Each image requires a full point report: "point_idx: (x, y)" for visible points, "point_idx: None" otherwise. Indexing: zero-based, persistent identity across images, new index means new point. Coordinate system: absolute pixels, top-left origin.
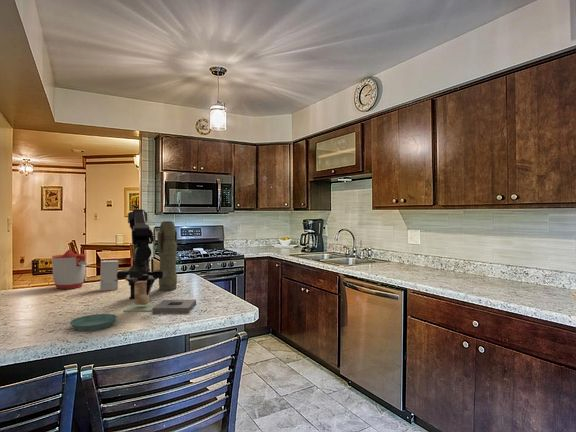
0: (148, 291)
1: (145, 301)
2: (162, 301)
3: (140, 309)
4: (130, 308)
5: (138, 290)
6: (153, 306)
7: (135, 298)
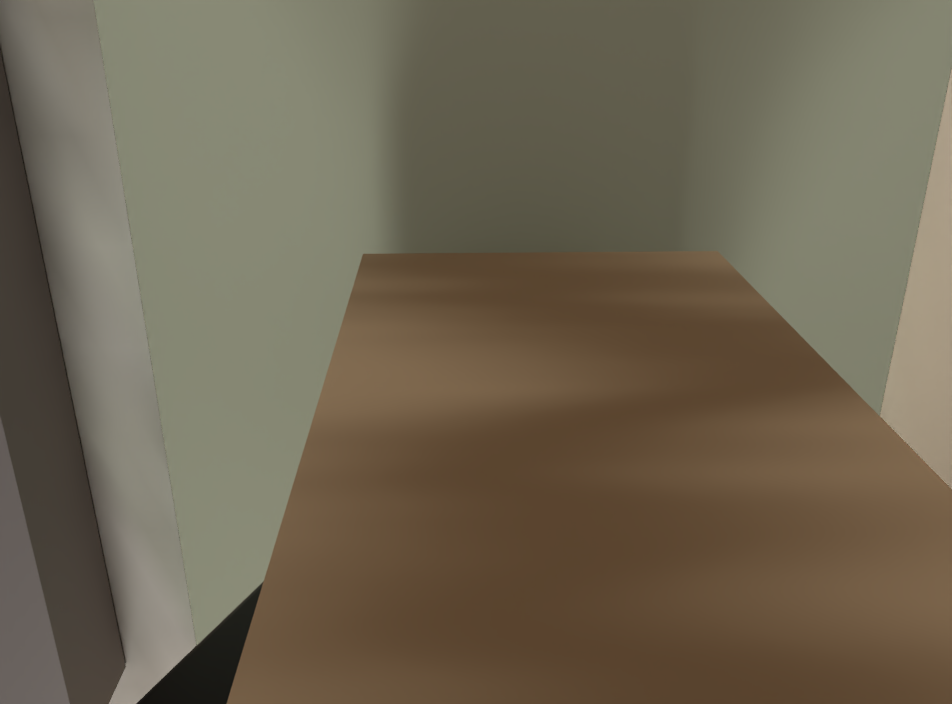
0: (215, 641)
1: (353, 293)
2: (13, 606)
3: (473, 90)
4: (808, 215)
5: (732, 522)
6: (229, 410)
7: (759, 332)
